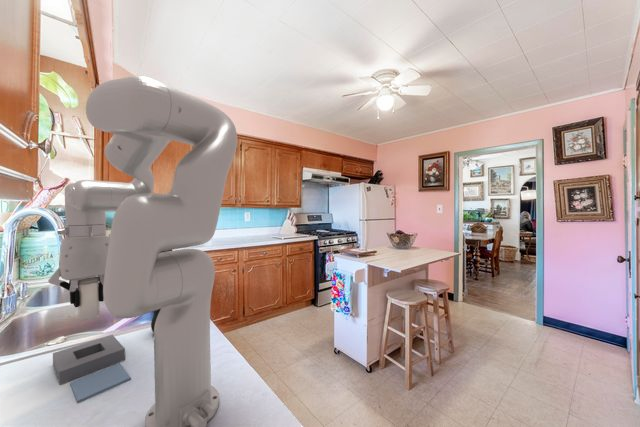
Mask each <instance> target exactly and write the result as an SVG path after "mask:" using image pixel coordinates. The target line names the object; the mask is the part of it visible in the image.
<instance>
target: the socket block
mask: <svg viewBox="0 0 640 427" xmlns="http://www.w3.org/2000/svg"><path fill="white" fill-rule="evenodd" d="M125 360H126V348H125V347H124V345H123V344H121V342H120V341H119V340H118V339H117V338H116V337H115V336H114V334H110V335H106V336H104V337H103V336H102V337H100V338H96V339H94V340H90V341H87V342H83V343H81V344H77V345H74V346H72V347H68V348H65V349H61V350H58V351H55V352H52V365H53V369H54V372H55V375H56V378H57V381H58V384H59V386H60V385H64V384H66V383H70V382H72V381H74V380H77V379H79V378H82V377H85V376H87V375H90V374H92V373H95V372H97V371H100V370H102V369H105V368H108V367H110V366H113V365H115V364H118V363H121V362H124V361H125Z"/></svg>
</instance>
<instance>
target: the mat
mask: <svg viewBox="0 0 640 427" xmlns="http://www.w3.org/2000/svg"><path fill="white" fill-rule="evenodd" d="M130 380H132V377H131V375H129V373H128V372H127V370H126V369H125V368H124V366H123V365H122V364H121V362H118V363H116V364H113V365H110V366H108V367H105V368H103V369H100V370H97V371H95V372H92V373H90V374H87V375H85V376H82V377H79V378H77V379H74V380H72V381H69V385H70V388H71V390H72V392H73V395H74V398H75V400H76V403H77V404H79V403H82V402H83V401H86V400H88V399H90V398H92V397H95V396H97V395H99V394H102V393H105V392H106V391H108V390H111V389H114V388H115V387H117V386H119V385H122V384H124V383H126V382H129V381H130Z"/></svg>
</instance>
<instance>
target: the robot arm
mask: <svg viewBox="0 0 640 427" xmlns="http://www.w3.org/2000/svg"><path fill="white" fill-rule="evenodd" d="M85 115H86V118H87V121H88V122H89V124H90V125H91V126H92V127H94V128H95V129H96V130H99V131H102V132H105V133H109V134H113V135H112V136H111V138H110V139H109V141H108V143H107V144H106V145H105V148H104V156H105V158H106V160H107V161H108V163H109V164H110V165H112V167H114V168H115V169H117V170H118V171H119V172H122V173H124V174H126V175H128V176H129V177H131V178H133V179H132V180H131V181H130V182H120V181H107V180H92V179H81V180H77V181H75V182H72V183H68V184H67V185H66V186H65V188H64V211H65V212H64V213H65V215H64V216H65V226H64V227H62V228H57V235H62V236H64V237H65V238H62V240H61V244H60V250H59V257H58V258H59V259H58V261H59V262H58V268H57V269H56V270H55V272H54V273H53V274H52V275H51V276H50V277H49V278H48V282H47V283H49V284H51V285H55V286H58V287H61V288H63V289H65V290H66V291H67V290H68V291H69V303H70V305H73V306H74V308H78V307H79V306H80V299H79V291H78V286H77V284H78V279H82V278H88V277H94V276H98V277H99V302H104V304H105V307H106V309H107V311H108V312H109V313H110V315H112V316H113V317H116V318H118V319H133V318H137V317H140V316H143V315H145V314H149V313H152V312H154V311H155V310H158V309H161V310H160V312H159V314H158V316H157V319H156V322H155V327H154V333H153V353H154V354H153V355H154V356H153V357H154V358H153V361H154V366H153V367H154V404H153V405H152V406H151V407H150V408H149V410H148V411H147V413H146V416H145V421H144V422H145V423H144V427H207V423H208V422H209V421H210V420H211V419H212V418H213V417H214V416H215V414H216V412H217V410H218V407H219V405H220V394H219V390H218V389H217V388H216V387H215V386H213V385H212V384H211V382H212V380H211V378H212V377H211V376H212V375H211V372H212V371H211V301H212V295H213V293H212V292H213V289H214V283H215V279H216V278H215V277H216V269H215V268H216V267H215V264H214V263H215V262H214V260H213V258H212V257H211V256H210V255H209V254H208V253H207V252H206V251H204V250H202V249H198V248H197V249H196V248H193V247H196V246H200V245H201V246H202V245H204V244H206V243H208V242H210V241H211V240H212V238H213V237H214V236H215V232H216V230H217V225H218V222H219V216H220V212H221V208H222V203H223V199H224V198H223V197H224V193H225V187H226V183H227V177H228V174H229V173H230V169H231V167H232V164H233V161H234V158H235V156H236V153H237V152H236V151H237V148H238V147H237V146H238V133H237V129H236V125H235V124H234V122H233V120H232V119H231V118H230V116H229V115H227V113H225V112H224V111H223V110H221V109H220V108H218V107H216V106H214V105H213V104H211V103H208V102H206V101H204V100H202V99H200V98H198V97H195V96H193V95H191V94H189V93H186V92H183V91H181V90H179V89H177V88H174V87H173V86H170V85H169V84H166V83H163V82H162V81H158V80H157V79H156V80H155V79H154V78H151V77H148V76H144V75H131V76H127V77H121V78H115V79H114V78H113V79H110V80H106V81H104V82H102V83H100V84H98V85H97V86H96V87H94V88H93V89H92V91H91V92H90V93H89V95H88V97H87V100H86V102H85ZM171 141H173V142H176V143H183V144H185V145H190V146H191V147H193V148H192V149H191V150H189V151H188V152H187V153H186V154H185V155H184V156H183V157H182V158H181V159H180V161H179V162H178V163H177V165H176V166H175V169H174V172H173V173H174V174H173V178H172V180H173V181H172V184H171V185H172V186H171V189H170V190H169V192H168V193H157V192H155V193H153V192H154V187H155V178H154V177H155V176H154V173H153V170H152V168H151V167H152V165H153V164H154V163H155V161H156V160H157V159H158V158H159V156H160V155H162V152H163V151H164V150H165V149H166V148H167V147H168V145H169V144H170V142H171ZM108 212H109V213H110V212H115V213H114V216H113V218H112V223H111V227H110V234H109V235H107V226H106V225H107V221H106V213H108ZM191 247H192V248H191ZM167 250H172V251H168V252H162V253H160V252H161V251H167ZM60 278H61V279H60Z"/></svg>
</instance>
